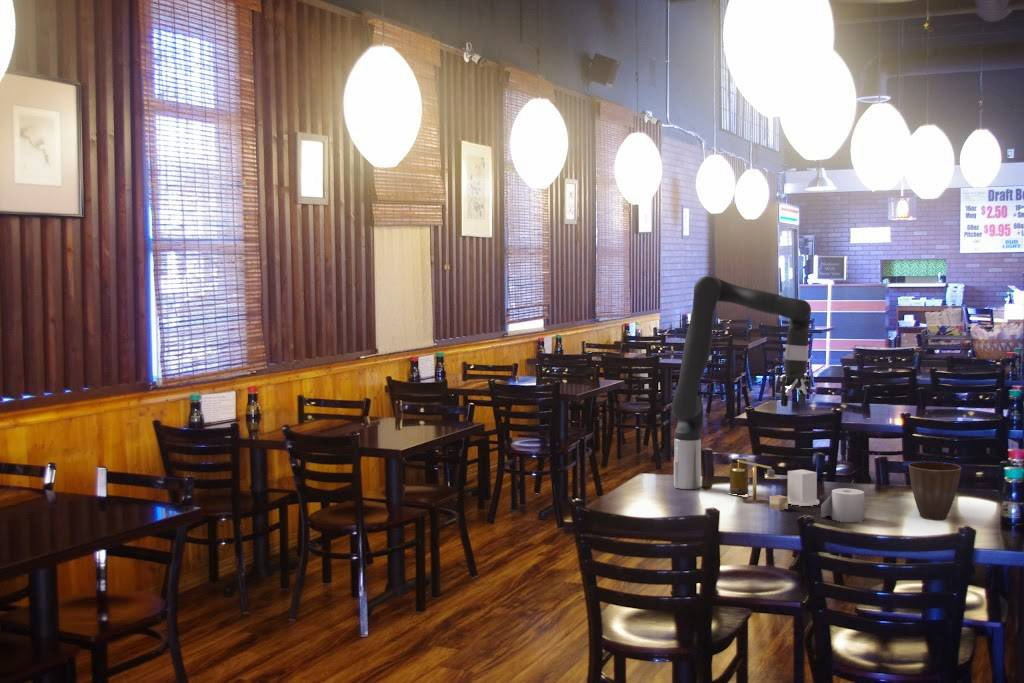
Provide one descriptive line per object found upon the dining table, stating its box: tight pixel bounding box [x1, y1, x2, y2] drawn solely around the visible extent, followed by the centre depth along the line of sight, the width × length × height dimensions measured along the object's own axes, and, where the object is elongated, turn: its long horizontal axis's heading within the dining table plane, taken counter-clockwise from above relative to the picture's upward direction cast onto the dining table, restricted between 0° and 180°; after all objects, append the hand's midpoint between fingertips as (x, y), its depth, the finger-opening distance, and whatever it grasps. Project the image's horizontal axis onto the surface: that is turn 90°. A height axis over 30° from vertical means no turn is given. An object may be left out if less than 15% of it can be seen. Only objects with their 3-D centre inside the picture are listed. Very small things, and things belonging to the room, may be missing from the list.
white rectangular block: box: [786, 469, 818, 502], centre depth 339 cm, size 6×6×9 cm
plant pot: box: [908, 461, 962, 521], centre depth 317 cm, size 15×15×16 cm
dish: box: [788, 498, 820, 507], centre depth 339 cm, size 11×11×1 cm
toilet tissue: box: [820, 487, 865, 523], centre depth 316 cm, size 9×13×9 cm
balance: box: [732, 460, 778, 504], centre depth 342 cm, size 15×5×14 cm, turn 85°
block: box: [769, 494, 789, 511], centre depth 331 cm, size 4×4×4 cm
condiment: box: [729, 458, 749, 495], centre depth 354 cm, size 7×8×12 cm
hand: (792, 405), depth 353 cm, fingers open, 8 cm apart
